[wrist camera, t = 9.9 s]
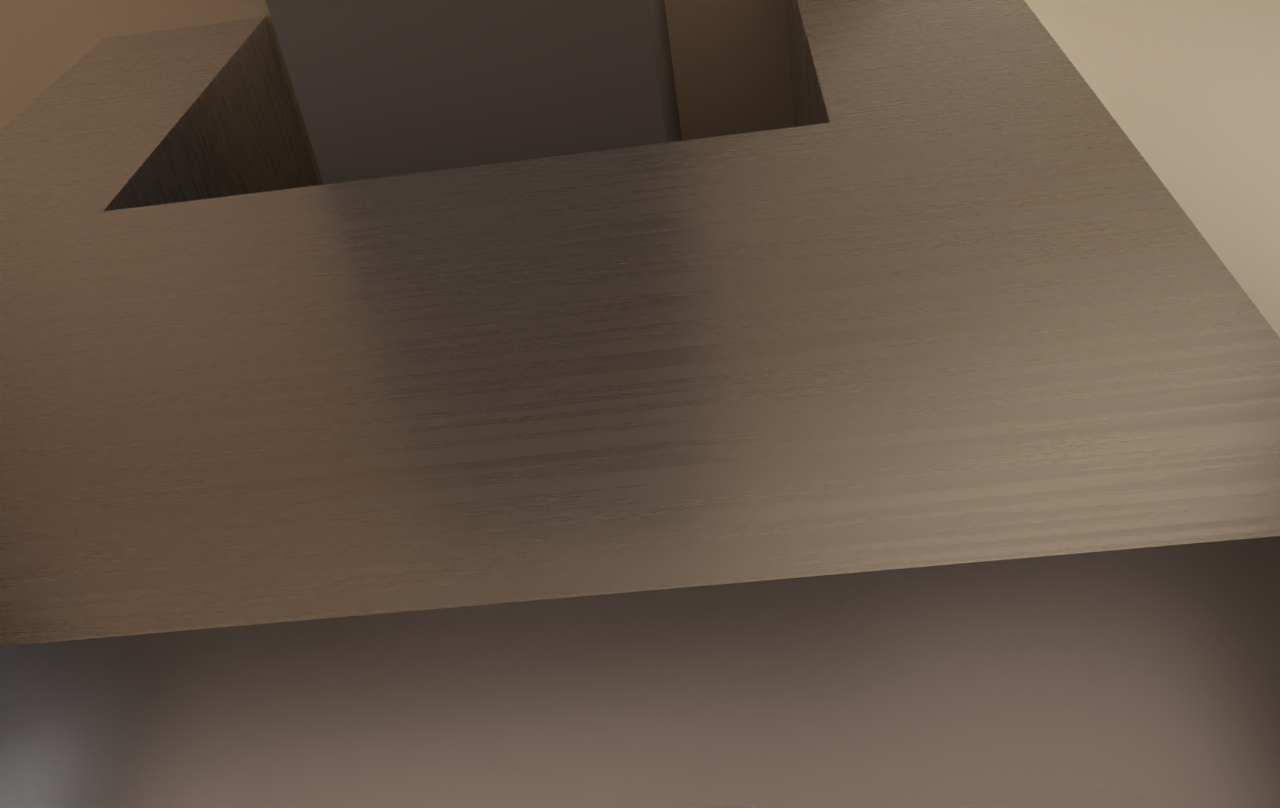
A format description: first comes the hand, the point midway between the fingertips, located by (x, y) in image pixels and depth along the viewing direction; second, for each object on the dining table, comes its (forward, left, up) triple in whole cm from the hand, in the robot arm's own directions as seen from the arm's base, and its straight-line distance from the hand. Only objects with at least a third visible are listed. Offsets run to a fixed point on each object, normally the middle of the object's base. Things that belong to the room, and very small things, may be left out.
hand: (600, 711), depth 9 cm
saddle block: (0, 0, -3) cm, 3 cm away
